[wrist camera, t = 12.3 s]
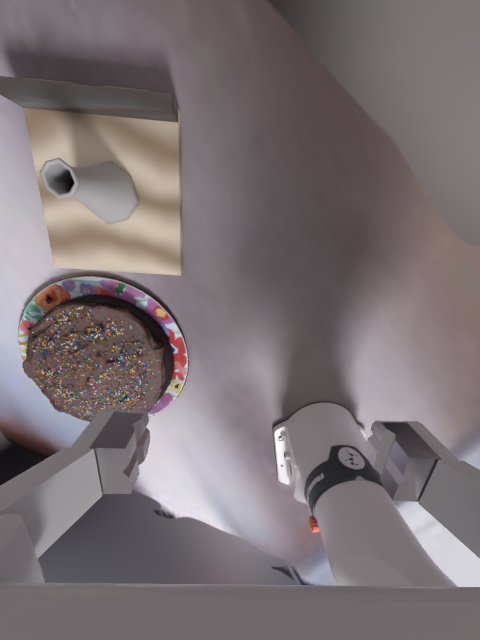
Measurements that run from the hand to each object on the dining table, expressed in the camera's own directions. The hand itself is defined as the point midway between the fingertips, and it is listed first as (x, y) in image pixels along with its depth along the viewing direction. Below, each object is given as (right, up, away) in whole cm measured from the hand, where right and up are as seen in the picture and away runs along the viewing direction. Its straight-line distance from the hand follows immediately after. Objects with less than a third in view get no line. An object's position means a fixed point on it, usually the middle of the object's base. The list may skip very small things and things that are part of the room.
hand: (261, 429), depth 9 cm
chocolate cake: (-24, -2, +33) cm, 41 cm away
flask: (-18, +21, +23) cm, 36 cm away
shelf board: (-18, +21, +24) cm, 37 cm away
